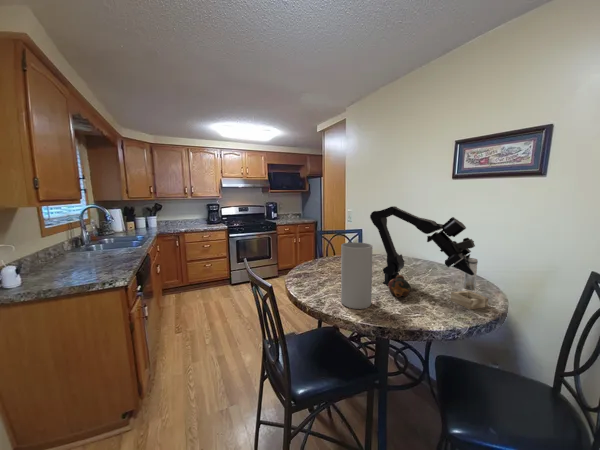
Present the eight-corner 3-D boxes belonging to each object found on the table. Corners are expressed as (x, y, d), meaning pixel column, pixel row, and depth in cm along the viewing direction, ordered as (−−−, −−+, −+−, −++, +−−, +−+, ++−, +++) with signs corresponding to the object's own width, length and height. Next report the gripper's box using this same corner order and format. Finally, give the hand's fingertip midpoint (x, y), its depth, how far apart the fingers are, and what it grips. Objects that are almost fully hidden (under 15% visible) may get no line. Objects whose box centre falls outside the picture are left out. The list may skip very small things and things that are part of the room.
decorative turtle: (408, 290, 116) (410, 274, 115) (411, 304, 102) (413, 287, 101) (387, 286, 119) (388, 271, 118) (387, 300, 105) (388, 283, 104)
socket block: (469, 309, 95) (470, 300, 95) (450, 300, 104) (451, 292, 103) (487, 306, 97) (488, 298, 97) (467, 298, 106) (467, 290, 106)
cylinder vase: (366, 312, 94) (367, 249, 91) (336, 305, 100) (336, 246, 98) (374, 301, 104) (376, 244, 102) (347, 295, 111) (347, 241, 108)
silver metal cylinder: (466, 289, 98) (468, 260, 97) (461, 286, 102) (463, 257, 101) (477, 290, 97) (479, 260, 96) (472, 287, 101) (474, 257, 100)
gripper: (455, 234, 94) (489, 267, 87) (466, 229, 107) (496, 258, 100) (432, 251, 100) (462, 283, 93) (445, 245, 113) (472, 272, 107)
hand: (474, 273), depth 98 cm, fingers closed on silver metal cylinder, 4 cm apart
